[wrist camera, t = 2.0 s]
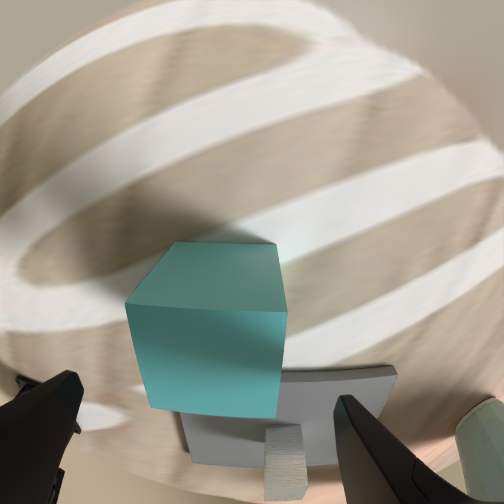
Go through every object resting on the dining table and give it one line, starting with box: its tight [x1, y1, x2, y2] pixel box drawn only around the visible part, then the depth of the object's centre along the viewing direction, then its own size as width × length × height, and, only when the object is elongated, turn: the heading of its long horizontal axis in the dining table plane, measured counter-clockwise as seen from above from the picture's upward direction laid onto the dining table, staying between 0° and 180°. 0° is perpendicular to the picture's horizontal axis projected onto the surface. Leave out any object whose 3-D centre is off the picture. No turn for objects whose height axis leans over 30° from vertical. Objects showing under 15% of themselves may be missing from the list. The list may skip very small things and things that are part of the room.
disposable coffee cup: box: [455, 397, 504, 502], centre depth 14 cm, size 11×11×15 cm
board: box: [180, 366, 398, 468], centre depth 19 cm, size 15×12×1 cm
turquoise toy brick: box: [125, 242, 288, 418], centre depth 13 cm, size 5×5×7 cm
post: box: [264, 425, 308, 501], centre depth 16 cm, size 3×3×6 cm
